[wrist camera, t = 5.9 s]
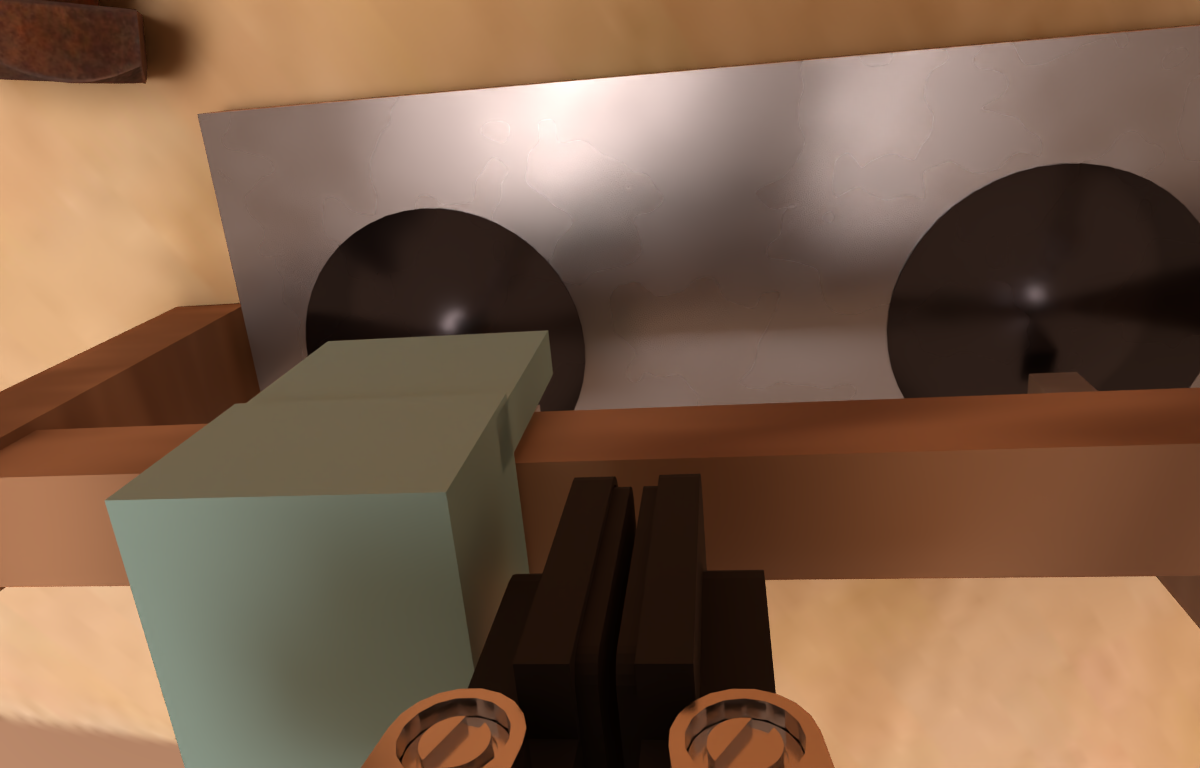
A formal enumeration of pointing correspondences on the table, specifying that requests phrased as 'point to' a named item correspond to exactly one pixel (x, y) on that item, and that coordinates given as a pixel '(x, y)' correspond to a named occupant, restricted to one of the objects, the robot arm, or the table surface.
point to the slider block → (333, 545)
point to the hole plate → (748, 223)
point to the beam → (677, 469)
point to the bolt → (71, 42)
